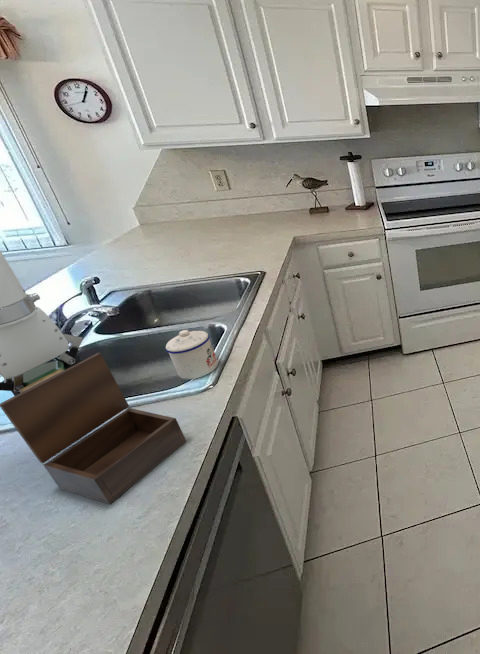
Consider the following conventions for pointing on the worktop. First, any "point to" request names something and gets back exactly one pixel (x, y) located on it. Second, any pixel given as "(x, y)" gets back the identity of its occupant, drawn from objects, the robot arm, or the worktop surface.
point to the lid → (65, 406)
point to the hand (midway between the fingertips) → (53, 391)
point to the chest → (116, 455)
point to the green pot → (41, 372)
